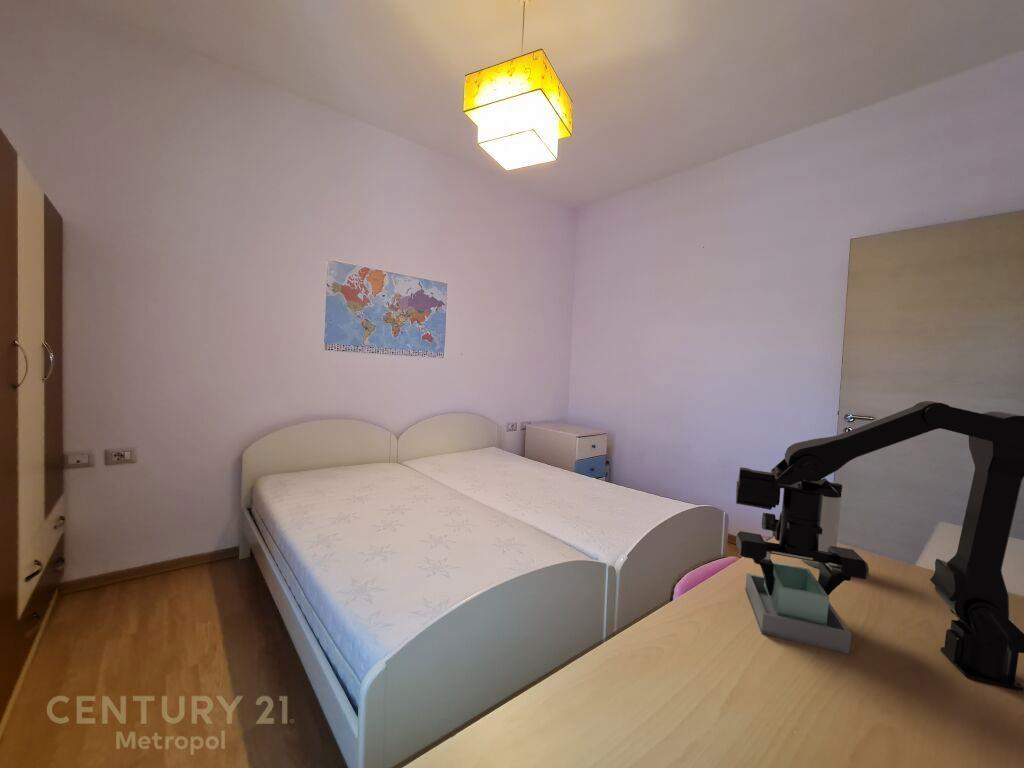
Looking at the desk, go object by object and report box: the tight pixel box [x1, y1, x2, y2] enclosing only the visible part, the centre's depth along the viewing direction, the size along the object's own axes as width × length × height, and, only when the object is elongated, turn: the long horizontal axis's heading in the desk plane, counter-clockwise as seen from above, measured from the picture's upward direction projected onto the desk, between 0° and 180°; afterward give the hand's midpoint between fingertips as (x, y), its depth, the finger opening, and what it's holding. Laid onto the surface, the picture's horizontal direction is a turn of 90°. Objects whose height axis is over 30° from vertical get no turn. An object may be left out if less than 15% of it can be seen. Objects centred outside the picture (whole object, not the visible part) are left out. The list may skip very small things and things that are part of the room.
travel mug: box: [801, 478, 843, 569], centre depth 94 cm, size 6×7×20 cm
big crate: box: [744, 573, 852, 655], centre depth 74 cm, size 12×14×3 cm
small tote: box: [764, 561, 830, 626], centre depth 74 cm, size 10×7×5 cm
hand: (793, 599), depth 74 cm, fingers closed on small tote, 7 cm apart
